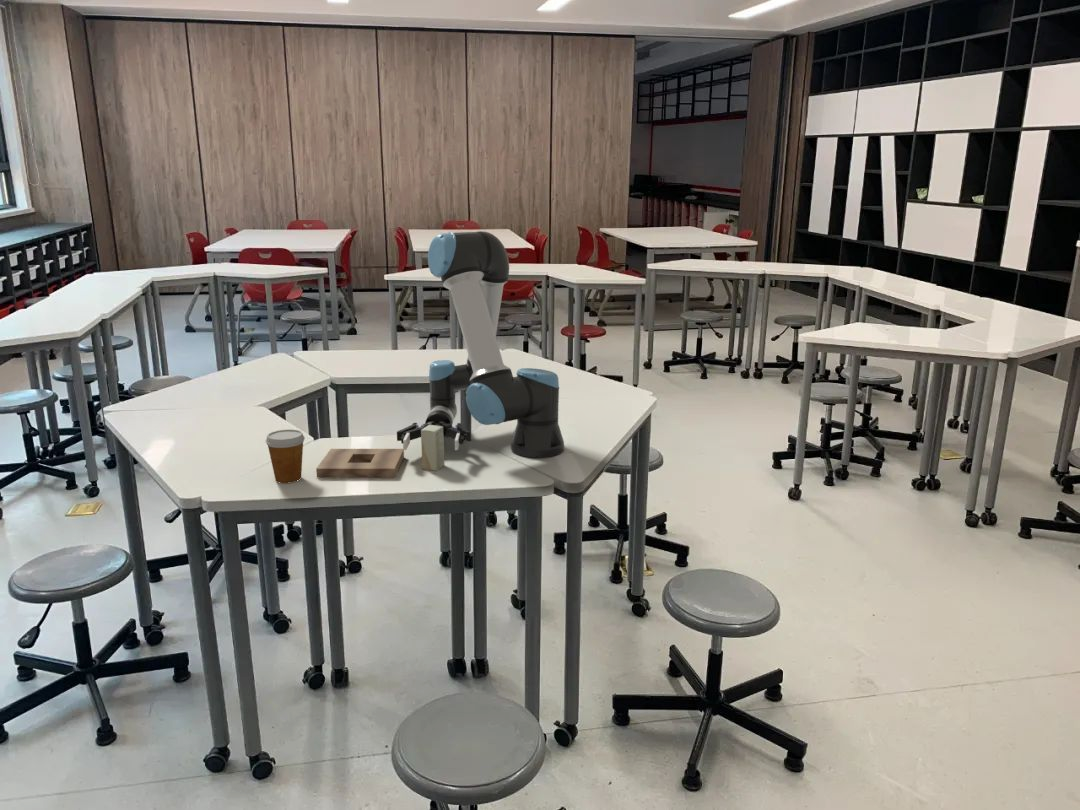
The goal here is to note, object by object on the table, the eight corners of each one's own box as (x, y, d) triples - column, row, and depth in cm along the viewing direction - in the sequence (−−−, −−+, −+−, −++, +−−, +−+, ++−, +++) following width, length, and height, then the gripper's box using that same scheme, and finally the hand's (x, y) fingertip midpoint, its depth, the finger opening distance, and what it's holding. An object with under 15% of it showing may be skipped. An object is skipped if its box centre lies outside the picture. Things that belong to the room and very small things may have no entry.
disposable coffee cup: (268, 474, 211) (265, 430, 207) (307, 471, 213) (303, 427, 210) (268, 487, 202) (264, 441, 199) (308, 483, 205) (305, 438, 202)
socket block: (404, 457, 224) (403, 448, 224) (394, 477, 209) (394, 468, 208) (331, 457, 224) (330, 448, 224) (316, 477, 209) (316, 468, 208)
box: (430, 463, 220) (429, 424, 217) (445, 465, 219) (444, 425, 216) (421, 469, 215) (420, 429, 212) (436, 471, 214) (435, 431, 211)
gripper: (482, 434, 236) (477, 458, 216) (396, 434, 236) (383, 458, 215) (482, 409, 234) (477, 431, 214) (395, 409, 234) (382, 431, 213)
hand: (430, 445), depth 214 cm, fingers open, 13 cm apart
